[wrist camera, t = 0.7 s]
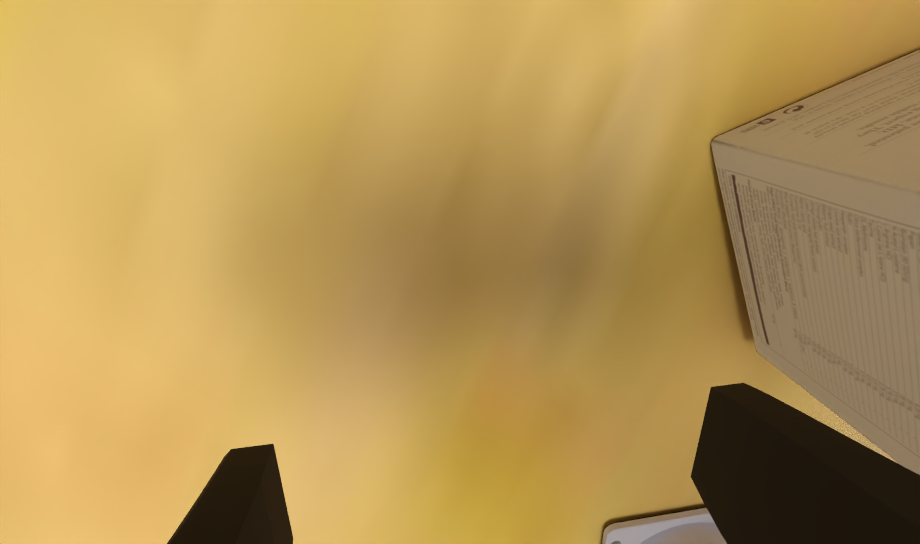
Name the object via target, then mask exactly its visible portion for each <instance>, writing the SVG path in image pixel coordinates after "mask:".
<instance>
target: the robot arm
mask: <svg viewBox="0 0 920 544" xmlns="http://www.w3.org/2000/svg"><path fill="white" fill-rule="evenodd" d="M691 478H692V480H693V482H694V484H695V486H696V488H697V490H698V492H699V494H700V496H701V498H702V500H703V502H704V504H705V506H706V508H701V509H695V510H690V511H684V512H678V513H672V514H666V515H660V516H654V517H648V518H643V519H637V520H631V521H625V522H619V523H614V524H611V525H609V526H607V527H606V529H605V530H604V533H603V541H602V544H920V475H919V474H917V473H915V472H913V471H911V470H909V469H907V468H905V467H903V466H901V465H900V464H898V463H896V462H894V461H892V460H890V459H888V458H886V457H884V456H882V455H880V454H879V453H877V452H875V451H873V450H871V449H869V448H867V447H865V446H864V445H862V444H860V443H858V442H856V441H854V440H852V439H851V438H849V437H847V436H845V435H843V434H841V433H839V432H838V431H836V430H834V429H832V428H830V427H828V426H826V425H825V424H823V423H821V422H819V421H817V420H815V419H814V418H812V417H810V416H808V415H806V414H804V413H802V412H801V411H799V410H797V409H795V408H793V407H791V406H789V405H787V404H785V403H784V402H782V401H780V400H778V399H776V398H774V397H772V396H770V395H768V394H766V393H764V392H762V391H760V390H758V389H756V388H754V387H752V386H749V385H747V384H745V383H739V384H731V385H724V386H716V387H711V390H710V394H709V399H708V403H707V407H706V412H705V416H704V421H703V425H702V429H701V434H700V438H699V443H698V447H697V452H696V456H695V460H694V465H693V469H692V474H691ZM167 544H293V536H292V531H291V526H290V521H289V516H288V512H287V507H286V502H285V497H284V493H283V488H282V483H281V478H280V473H279V469H278V464H277V459H276V454H275V449H274V445H273V444H268V445H260V446H253V447H245V448H237V449H231V450H230V451H229V452H228V453H227V454H226V455H225V457H224V458H223V460H222V461H221V463H220V465H219V466H218V468H217V469H216V471H215V472H214V474H213V475H212V477H211V479H210V480H209V482H208V483H207V485H206V486H205V488H204V489H203V491H202V493H201V494H200V496H199V497H198V499H197V500H196V502H195V503H194V505H193V506H192V508H191V509H190V511H189V512H188V514H187V515H186V517H185V518H184V520H183V521H182V523H181V524H180V526H179V527H178V528H177V530H176V531H175V533H174V534H173V536H172V537H171V539H170V540H169V541H168V543H167Z"/></svg>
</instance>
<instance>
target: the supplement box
mask: <svg viewBox="0 0 920 544" xmlns="http://www.w3.org/2000/svg"><path fill="white" fill-rule="evenodd" d="M711 146H712V152H713V157H714V162H715V166H716V171H717V175H718V180H719V184H720V189H721V193H722V198H723V202H724V207H725V212H726V216H727V221H728V225H729V230H730V234H731V238H732V243H733V247H734V252H735V256H736V261H737V265H738V270H739V274H740V279H741V283H742V288H743V292H744V297H745V301H746V306H747V310H748V315H749V319H750V324H751V328H752V333H753V337H754V342H755V346H756V351H757V352H758V354H760V355H761V356H762V357H764V358H765V359H766V360H767V361H769V362H770V363H771V364H773V365H774V366H775V367H776V368H778V369H779V370H780V371H782V372H783V373H784V374H785V375H786V376H788V377H789V378H790V379H792V380H793V381H794V382H795V383H797V384H798V385H799V386H801V387H802V388H803V389H805V390H806V391H807V392H808V393H810V394H811V395H812V396H813V397H815V398H816V399H817V400H818V401H820V402H821V403H822V404H824V405H825V406H826V407H828V408H829V409H830V410H831V411H833V412H834V413H835V414H837V415H838V416H839V417H840V418H842V419H843V420H844V421H846V422H847V423H848V424H849V425H851V426H852V427H853V428H854V429H856V430H857V431H858V432H859V433H861V434H862V435H863V436H865V437H866V438H867V439H868V440H869V441H871V442H872V443H874V444H875V445H876V446H878V447H879V448H880V449H881V450H883V451H884V452H885V453H887V454H888V455H889V456H890V457H892V458H893V459H894V460H895V461H896V462H898V463H899V464H900V465H902V466H903V467H905V468H907V469H909V470H911V471H913V472H915V473H917V474H919V475H920V50H917V51H915V52H913V53H910V54H908V55H906V56H903V57H901V58H899V59H896V60H894V61H892V62H889V63H887V64H885V65H882V66H880V67H878V68H875V69H873V70H871V71H868V72H866V73H864V74H861V75H859V76H857V77H854V78H852V79H850V80H847V81H845V82H843V83H840V84H838V85H836V86H833V87H831V88H829V89H826V90H824V91H822V92H819V93H817V94H815V95H812V96H810V97H808V98H805V99H803V100H801V101H798V102H796V103H794V104H791V105H789V106H787V107H784V108H782V109H780V110H777V111H775V112H773V113H770V114H768V115H766V116H764V117H761V118H759V119H757V120H754V121H752V122H750V123H748V124H745V125H743V126H741V127H738V128H736V129H733V130H731V131H729V132H726V133H724V134H722V135H719V136H717V137H716V138H714V139H713V141H712V143H711Z"/></svg>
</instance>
